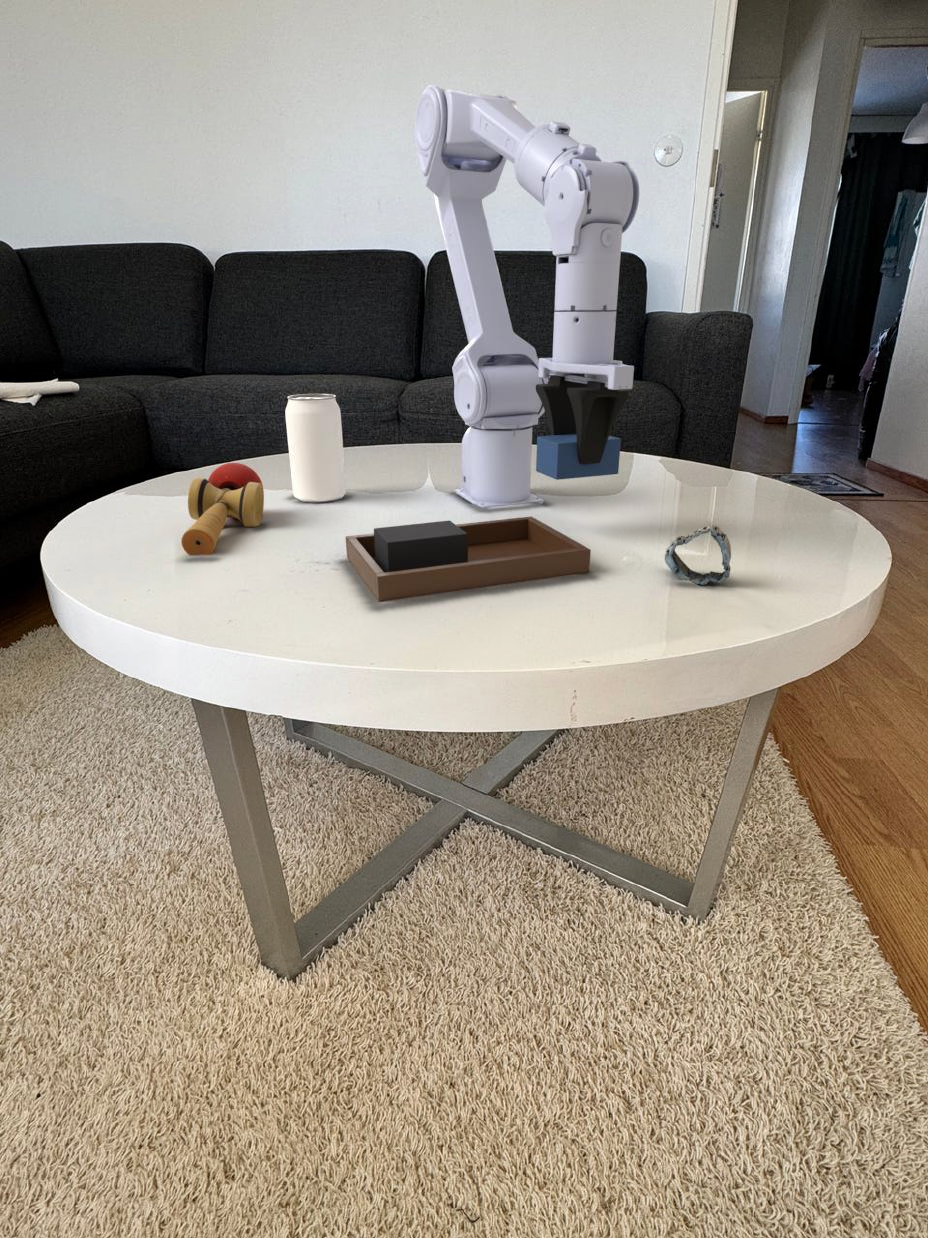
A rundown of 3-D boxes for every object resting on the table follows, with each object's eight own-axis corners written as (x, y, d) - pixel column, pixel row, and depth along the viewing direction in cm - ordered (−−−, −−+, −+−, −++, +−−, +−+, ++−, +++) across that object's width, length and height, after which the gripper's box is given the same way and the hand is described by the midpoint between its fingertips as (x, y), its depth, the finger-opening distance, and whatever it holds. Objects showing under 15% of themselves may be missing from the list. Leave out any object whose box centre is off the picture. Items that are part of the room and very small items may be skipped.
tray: (347, 562, 66) (345, 536, 65) (530, 540, 72) (531, 516, 71) (379, 607, 56) (377, 576, 55) (589, 577, 62) (591, 549, 61)
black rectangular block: (375, 566, 63) (373, 528, 62) (450, 557, 66) (449, 520, 64) (389, 583, 59) (387, 542, 58) (468, 572, 62) (468, 533, 60)
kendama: (253, 570, 68) (283, 498, 83) (230, 508, 65) (265, 445, 80) (174, 585, 68) (218, 511, 84) (146, 524, 65) (198, 459, 80)
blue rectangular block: (535, 471, 74) (536, 436, 72) (595, 465, 76) (597, 432, 75) (556, 480, 70) (558, 443, 68) (618, 474, 72) (621, 438, 71)
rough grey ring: (696, 590, 63) (661, 546, 62) (748, 559, 60) (711, 513, 59) (690, 605, 60) (654, 560, 60) (744, 574, 57) (706, 526, 57)
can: (335, 504, 86) (327, 399, 81) (284, 501, 87) (273, 398, 82) (353, 492, 92) (347, 393, 87) (306, 489, 93) (297, 392, 88)
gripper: (668, 310, 62) (653, 468, 67) (583, 311, 74) (576, 444, 80) (597, 311, 60) (587, 474, 65) (521, 311, 72) (518, 449, 77)
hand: (577, 458), depth 72 cm, fingers closed on blue rectangular block, 4 cm apart
